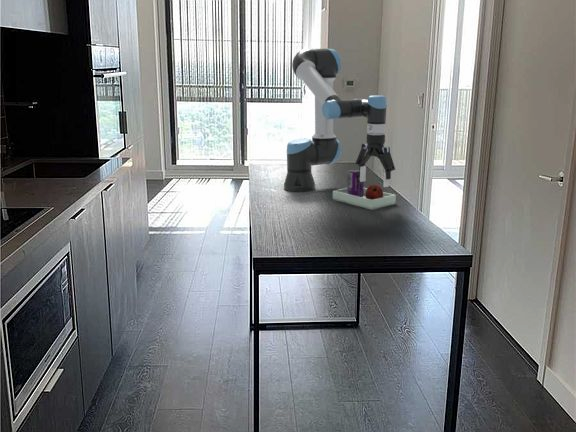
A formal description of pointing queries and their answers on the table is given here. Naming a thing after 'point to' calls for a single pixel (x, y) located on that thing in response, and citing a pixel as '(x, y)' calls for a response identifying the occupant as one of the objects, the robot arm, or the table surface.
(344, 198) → the tote
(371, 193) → the apple
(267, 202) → the table surface
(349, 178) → the beverage can
